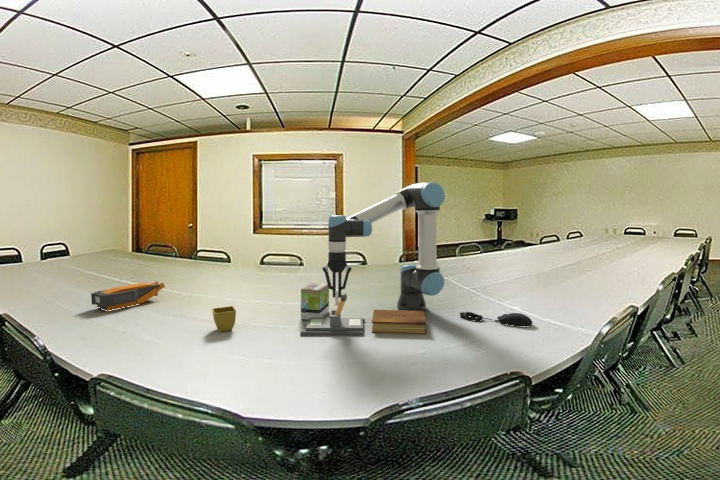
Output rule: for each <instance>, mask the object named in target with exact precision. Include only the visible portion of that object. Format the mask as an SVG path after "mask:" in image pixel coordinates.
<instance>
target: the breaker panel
mask: <svg viewBox="0 0 720 480" xmlns="http://www.w3.org/2000/svg"><path fill="white" fill-rule="evenodd" d="M336 310H337V308H335V309H333V308H332V309H331V313H330V314H329V317H322V318H310V319H309V322H308V321H307V324H306V327H305V331H363V332H364V322H363V317H342V316H341V315H342V313H341V314H340V315H335V313H336Z"/></svg>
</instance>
